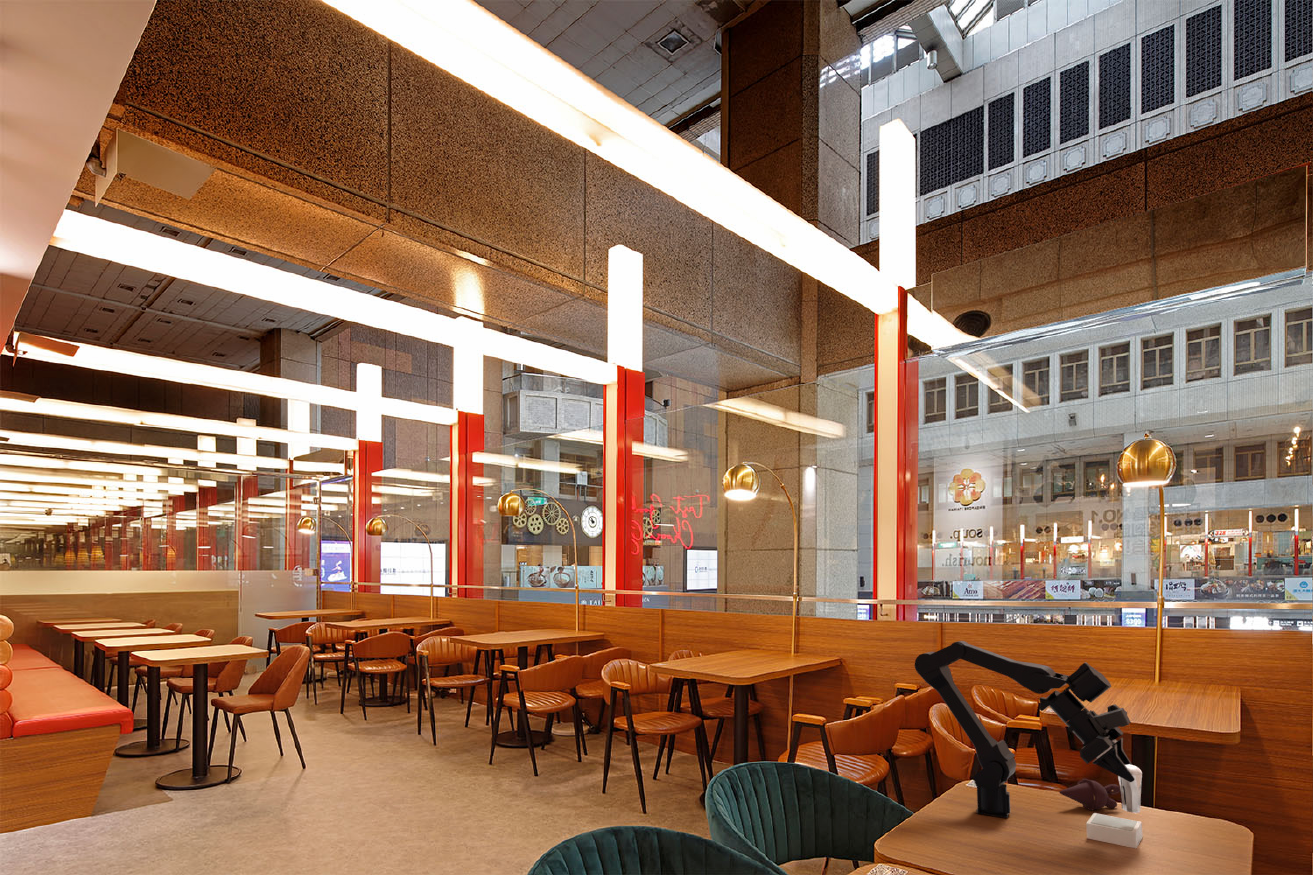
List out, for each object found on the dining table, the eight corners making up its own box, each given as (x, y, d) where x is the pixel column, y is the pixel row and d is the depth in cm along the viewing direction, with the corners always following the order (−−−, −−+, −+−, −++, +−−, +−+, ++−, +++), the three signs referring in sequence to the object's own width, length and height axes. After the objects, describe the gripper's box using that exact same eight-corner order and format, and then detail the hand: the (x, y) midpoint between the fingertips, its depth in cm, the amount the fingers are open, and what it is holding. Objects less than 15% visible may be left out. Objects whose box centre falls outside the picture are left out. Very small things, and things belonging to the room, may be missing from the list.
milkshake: (1116, 804, 169) (1114, 755, 171) (1145, 810, 166) (1143, 761, 167) (1112, 809, 166) (1110, 759, 167) (1141, 815, 162) (1139, 765, 164)
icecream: (1072, 786, 182) (1132, 791, 183) (1053, 769, 189) (1110, 774, 191) (1066, 814, 182) (1126, 819, 184) (1048, 797, 190) (1105, 801, 191)
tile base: (1087, 838, 166) (1086, 822, 166) (1095, 827, 173) (1094, 812, 173) (1136, 848, 160) (1135, 831, 161) (1142, 836, 167) (1141, 821, 168)
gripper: (1095, 698, 164) (1160, 764, 156) (1111, 687, 179) (1170, 748, 170) (1055, 730, 168) (1116, 796, 160) (1073, 717, 182) (1129, 778, 174)
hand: (1134, 778), depth 166 cm, fingers closed on milkshake, 4 cm apart
